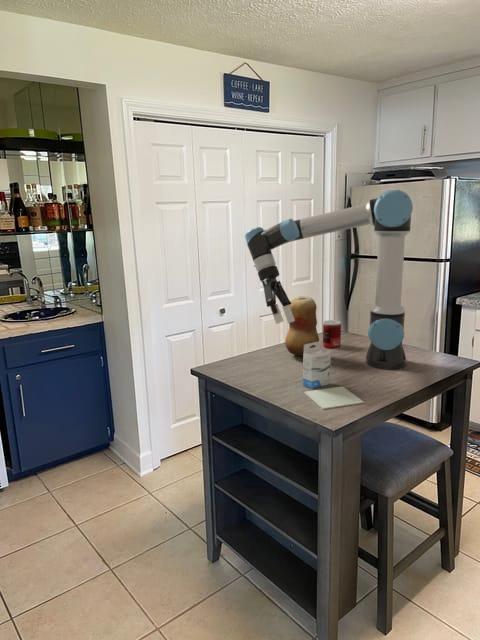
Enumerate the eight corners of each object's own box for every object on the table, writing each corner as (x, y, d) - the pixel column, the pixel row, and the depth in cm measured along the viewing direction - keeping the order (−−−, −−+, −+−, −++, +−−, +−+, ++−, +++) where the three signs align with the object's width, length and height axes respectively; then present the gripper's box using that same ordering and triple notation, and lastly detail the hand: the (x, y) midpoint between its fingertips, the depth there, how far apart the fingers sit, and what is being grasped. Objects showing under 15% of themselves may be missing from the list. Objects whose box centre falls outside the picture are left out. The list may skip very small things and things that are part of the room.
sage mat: (342, 387, 158) (342, 386, 158) (364, 403, 145) (364, 402, 145) (304, 392, 154) (304, 391, 154) (322, 409, 141) (322, 408, 141)
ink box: (312, 389, 157) (312, 347, 154) (302, 385, 161) (302, 344, 158) (330, 384, 162) (331, 343, 158) (320, 380, 166) (321, 340, 162)
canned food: (342, 344, 208) (342, 320, 205) (338, 349, 201) (338, 325, 198) (325, 343, 211) (325, 319, 208) (320, 348, 204) (321, 323, 201)
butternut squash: (283, 360, 188) (282, 300, 182) (287, 351, 200) (287, 294, 195) (317, 362, 184) (318, 300, 179) (320, 352, 197) (320, 294, 191)
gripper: (269, 275, 185) (287, 325, 182) (244, 269, 162) (264, 326, 160) (286, 267, 182) (304, 318, 180) (263, 261, 160) (284, 318, 157)
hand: (286, 322), depth 170 cm, fingers open, 13 cm apart
